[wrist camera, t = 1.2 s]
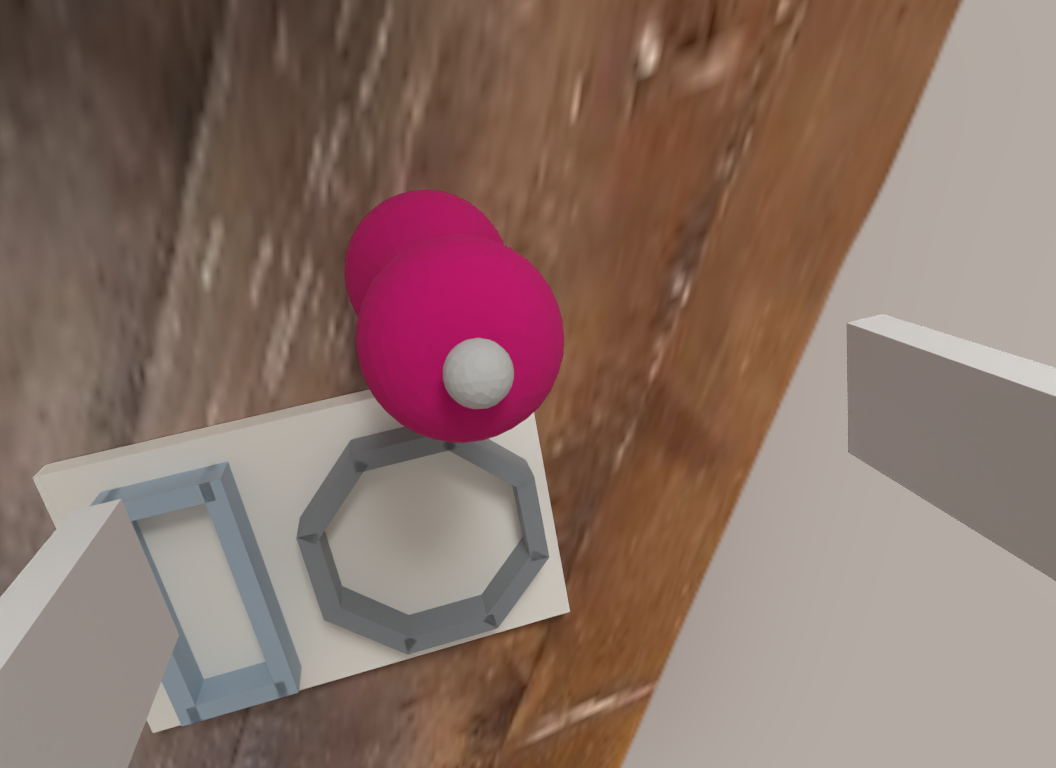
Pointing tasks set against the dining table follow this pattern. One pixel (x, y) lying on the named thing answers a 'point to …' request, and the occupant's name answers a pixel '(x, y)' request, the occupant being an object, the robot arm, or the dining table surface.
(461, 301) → the pepper mill
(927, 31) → the dining table surface
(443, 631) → the holder board
